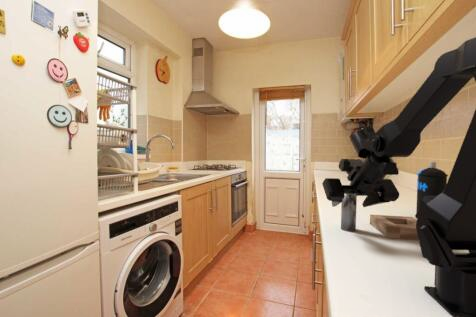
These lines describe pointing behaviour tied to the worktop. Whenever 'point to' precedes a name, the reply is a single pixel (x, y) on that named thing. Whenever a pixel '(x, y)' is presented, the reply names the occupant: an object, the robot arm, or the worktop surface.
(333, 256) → the worktop surface
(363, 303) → the worktop surface
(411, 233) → the wooden square frame
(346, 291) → the worktop surface
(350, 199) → the metal pin
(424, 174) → the aerosol can
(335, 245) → the worktop surface
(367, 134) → the robot arm
